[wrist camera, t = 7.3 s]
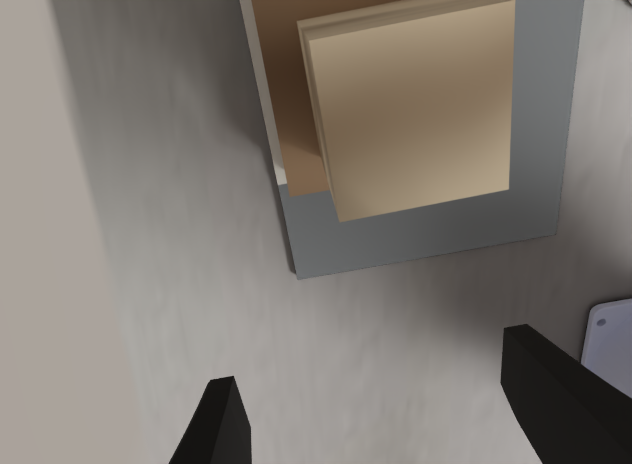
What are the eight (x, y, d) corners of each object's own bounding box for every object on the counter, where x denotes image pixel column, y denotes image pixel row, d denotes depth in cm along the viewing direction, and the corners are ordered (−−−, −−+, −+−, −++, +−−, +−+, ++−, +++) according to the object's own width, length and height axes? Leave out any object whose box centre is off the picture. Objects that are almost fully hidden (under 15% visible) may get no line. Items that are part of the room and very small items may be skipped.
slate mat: (551, 230, 23) (557, 235, 22) (297, 275, 22) (297, 281, 22) (592, -128, 16) (601, -130, 15) (226, -65, 16) (225, -66, 15)
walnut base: (452, 143, 19) (476, 164, 17) (287, 171, 19) (289, 197, 17) (452, -52, 16) (481, -56, 14) (251, -17, 16) (248, -16, 14)
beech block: (445, 133, 17) (508, 189, 12) (320, 157, 17) (339, 222, 12) (440, -8, 14) (515, -1, 10) (296, 21, 14) (308, 40, 10)
